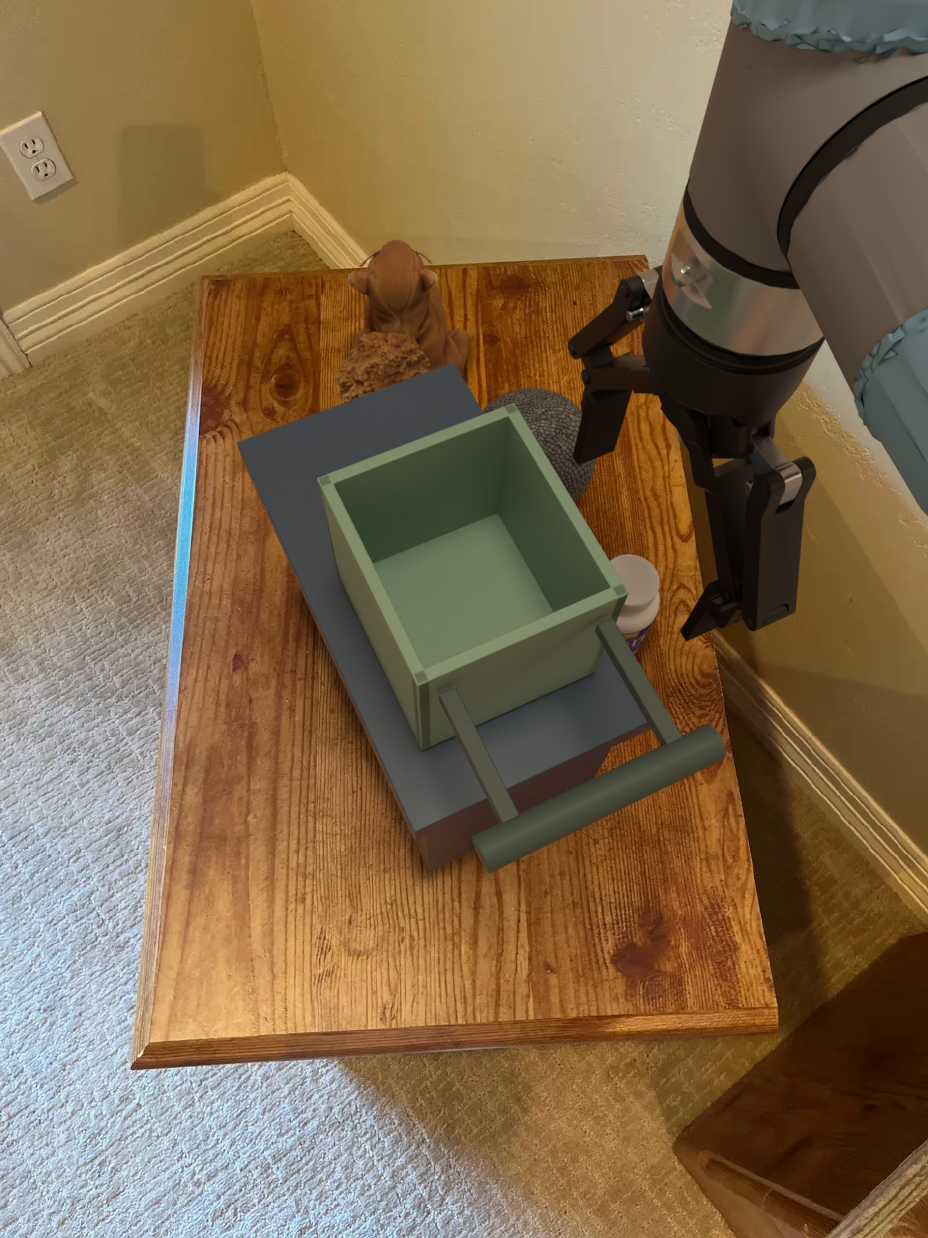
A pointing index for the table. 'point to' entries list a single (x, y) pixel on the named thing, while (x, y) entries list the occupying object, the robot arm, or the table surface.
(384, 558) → the basket
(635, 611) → the pill bottle
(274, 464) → the gray rectangular block
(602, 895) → the table surface
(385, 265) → the stuffed squirrel
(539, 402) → the decorative ball
